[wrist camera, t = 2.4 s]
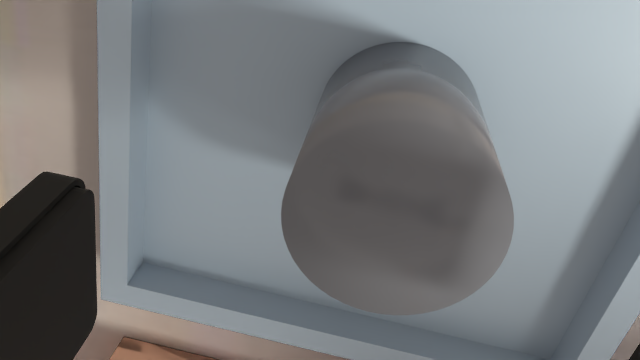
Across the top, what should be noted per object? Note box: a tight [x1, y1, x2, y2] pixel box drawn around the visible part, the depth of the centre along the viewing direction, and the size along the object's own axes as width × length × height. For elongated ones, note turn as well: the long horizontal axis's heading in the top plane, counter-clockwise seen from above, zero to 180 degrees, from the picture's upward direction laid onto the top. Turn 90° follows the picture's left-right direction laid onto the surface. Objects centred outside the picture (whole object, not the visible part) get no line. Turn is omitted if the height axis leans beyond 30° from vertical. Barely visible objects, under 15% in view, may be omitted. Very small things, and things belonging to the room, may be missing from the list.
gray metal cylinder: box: [281, 42, 514, 315], centre depth 15 cm, size 5×5×6 cm
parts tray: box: [97, 0, 640, 360], centre depth 17 cm, size 18×18×2 cm
